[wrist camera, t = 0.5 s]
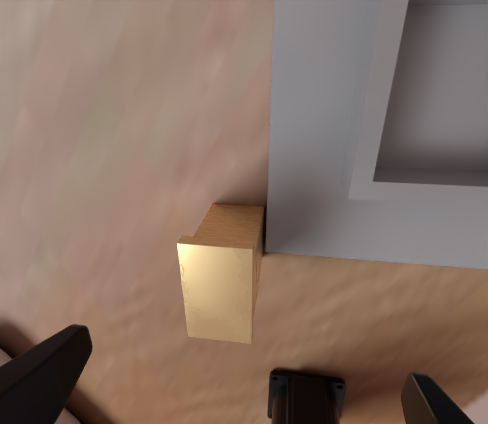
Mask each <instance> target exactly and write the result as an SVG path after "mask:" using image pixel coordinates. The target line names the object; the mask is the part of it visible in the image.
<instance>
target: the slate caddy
mask: <svg viewBox="0 0 488 424" xmlns="http://www.w3.org/2000/svg"><path fill="white" fill-rule="evenodd" d="M265 252H271V253H284V254H297V255H310V256H322V257H335V258H348V259H361V260H374V261H387V262H400V263H413V264H426V265H439V266H452V267H465V268H478V269H488V0H274V25H273V53H272V81H271V109H270V137H269V166H268V194H267V222H266V250H265Z"/></svg>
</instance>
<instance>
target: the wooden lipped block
mask: <svg viewBox="0 0 488 424" xmlns="http://www.w3.org/2000/svg"><path fill="white" fill-rule="evenodd" d="M263 222H264V207H262V206H244V205H227V204H212V205H211V207H210V209H209V210H208V212H207V214H206V216H205V217H204V219H203V221H202V223H201V224H200V226H199V228H198V230H197V231H196V233H195V235H194V237H190V236H182V237H181V238H180V240H179V241H178V243H177V247H178V255H179V264H180V272H181V281H182V289H183V297H184V306H185V314H186V323H187V331H188V336H189V337H197V338H206V339H214V340H223V341H231V342H240V343H248V344H251V343H252V336H253V317H254V310H255V304H256V297H257V290H258V283H259V277H260V270H261V263H262V255H263Z"/></svg>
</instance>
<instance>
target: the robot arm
mask: <svg viewBox="0 0 488 424" xmlns="http://www.w3.org/2000/svg"><path fill="white" fill-rule="evenodd" d="M91 352H92V341H91V337H90V334H89V330H88V328H87V327H86V326H84V325H77V324H73V325H70V326H68V327H67V328H65V329H63V330H62V331H60V332H58V333H56V334H55V335H53V336H51V337H50V338H48V339H46V340H44V341H43V342H41V343H39V344H38V345H36V346H34V347H32V348H31V349H29V350H27V351H26V352H24V353H22V354H21V355H19V356H17V357H15V358H14V359H12V360H10V361H9V362H7V363H5V364H3V365H2V366H0V424H55V422H56V421H57V419H58V417H59V416H60V414H61V412H62V410H63V409H64V407H65V405H66V403H67V401H68V399H69V397H70V395H71V393H72V391H73V389H74V387H75V385H76V383H77V381H78V379H79V377H80V375H81V373H82V371H83V369H84V367H85V365H86V363H87V361H88V359H89V357H90V355H91ZM345 390H346V384H345V381H344V380H342V379H337V378H329V377H321V376H313V375H305V374H297V373H290V372H282V371H271V372H270V380H269V398H268V417H269V418H270V419H272V424H340V421H339V416H340V412H341V408H342V403H343V399H344V395H345ZM401 401H402V407H403V412H404V417H405V422H406V424H474V423H473V422H472V421H471V420H470V419H469V418H468V416H467V415H466V414H465V413H464V412H463V411H462V410H461V409H460V408H459V407H458V406H457V405H456V404H455V403H454V402H453V401H452V400H451V399H450V397H449V396H448V395H447V394H446V393H445V392H444V391H443V390H442V389H441V388H440V387H439V386H438V385H437V384H436V383H435V382H434V381H433V380H432V378H430V377H429V376H428V375H426V374H421V373H414V372H411V373H409V375H408V377H407V379H406V382H405V385H404V387H403V390H402V393H401Z"/></svg>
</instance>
